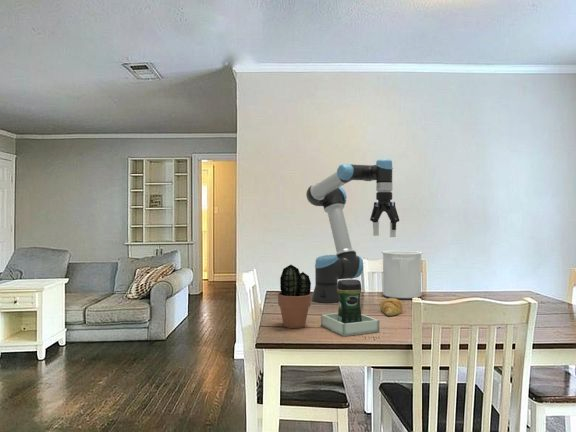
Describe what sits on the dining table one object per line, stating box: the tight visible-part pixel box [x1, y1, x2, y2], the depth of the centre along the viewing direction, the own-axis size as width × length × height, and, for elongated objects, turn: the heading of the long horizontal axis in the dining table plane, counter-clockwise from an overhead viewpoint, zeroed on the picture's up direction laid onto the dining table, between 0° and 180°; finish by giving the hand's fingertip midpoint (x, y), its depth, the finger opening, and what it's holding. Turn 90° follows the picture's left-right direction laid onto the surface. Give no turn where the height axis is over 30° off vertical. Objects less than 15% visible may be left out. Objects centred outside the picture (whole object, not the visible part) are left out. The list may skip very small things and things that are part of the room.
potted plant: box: [277, 264, 312, 329], centre depth 192 cm, size 14×14×25 cm
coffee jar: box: [337, 279, 363, 324], centre depth 187 cm, size 10×8×19 cm
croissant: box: [379, 298, 403, 317], centre depth 218 cm, size 21×10×8 cm, turn 163°
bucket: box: [381, 249, 423, 301], centre depth 257 cm, size 26×22×24 cm
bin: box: [320, 312, 380, 337], centre depth 187 cm, size 18×16×4 cm
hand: (384, 236), depth 225 cm, fingers open, 13 cm apart
